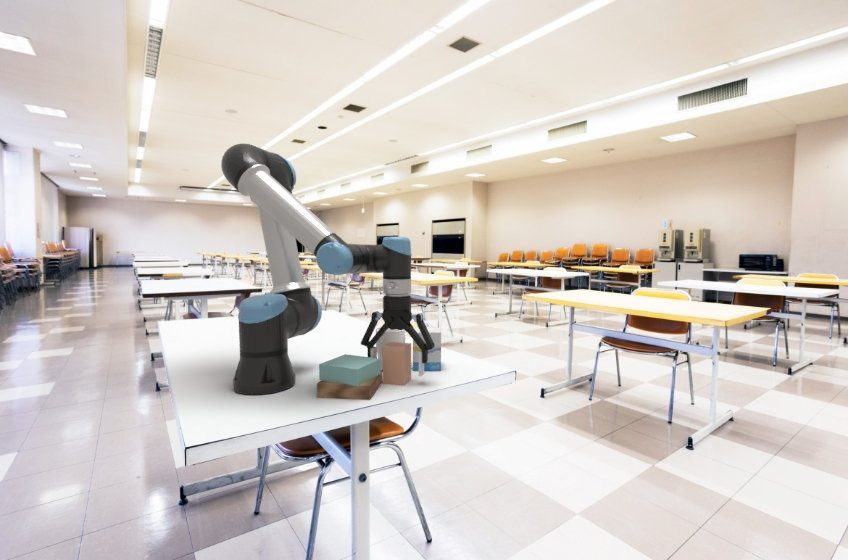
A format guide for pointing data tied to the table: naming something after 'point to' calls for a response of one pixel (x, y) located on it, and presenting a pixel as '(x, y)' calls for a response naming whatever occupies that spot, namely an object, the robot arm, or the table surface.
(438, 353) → the ink box
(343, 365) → the block top
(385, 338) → the cup
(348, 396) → the block bottom
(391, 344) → the tall block
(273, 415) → the table surface
